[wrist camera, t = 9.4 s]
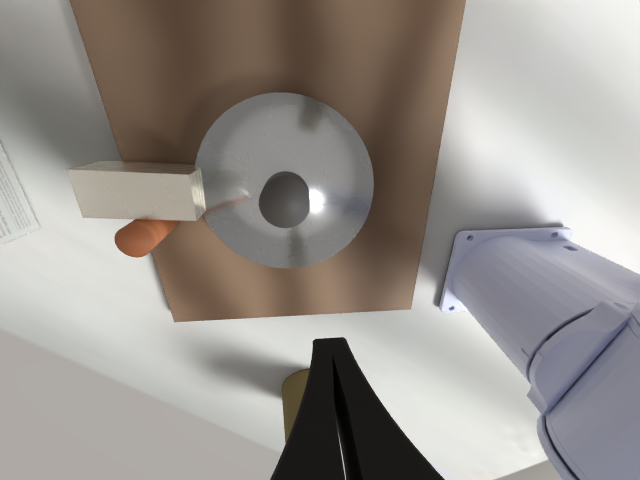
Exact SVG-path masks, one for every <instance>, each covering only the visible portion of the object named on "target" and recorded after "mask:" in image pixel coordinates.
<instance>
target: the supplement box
mask: <svg viewBox="0 0 640 480" xmlns="http://www.w3.org/2000/svg"><path fill="white" fill-rule="evenodd" d="M38 229H39V225H38V222H37V220H36V218H35V216H34V213H33V211H32V209H31V207H30V205H29V203H28V200H27V198H26V196H25V194H24V192H23V189H22V187H21V185H20V183H19V181H18V179H17V177H16V174H15V172H14V170H13V168H12V166H11V164H10V162H9V160H8V158H7V155H6V153H5V151H4V149H3V147H2V145H1V143H0V246H1V245H3V244H6V243H8V242H10V241H12V240H15V239H17V238H19V237H21V236H23V235H26V234H28V233H30V232H32V231H35V230H38Z"/></svg>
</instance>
